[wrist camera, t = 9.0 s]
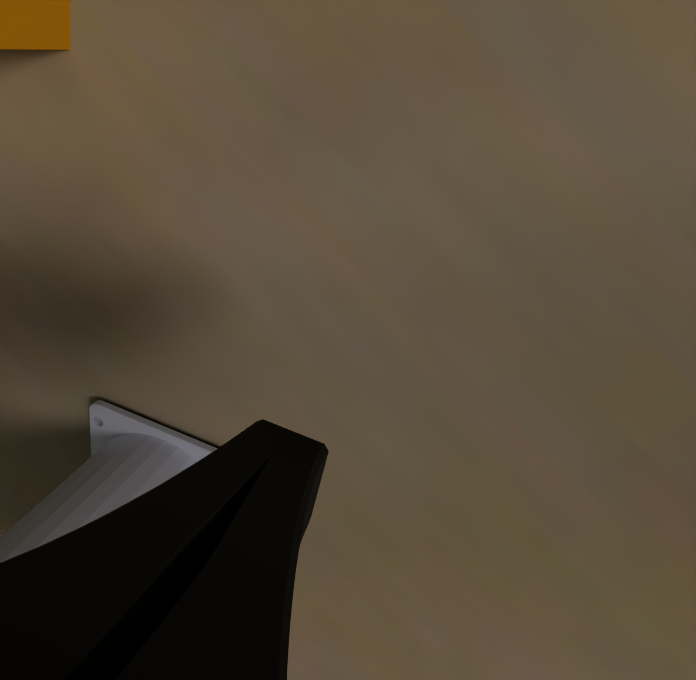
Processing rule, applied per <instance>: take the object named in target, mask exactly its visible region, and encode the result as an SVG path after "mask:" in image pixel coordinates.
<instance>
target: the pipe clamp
mask: <svg viewBox="0 0 696 680" xmlns="http://www.w3.org/2000/svg"><path fill="white" fill-rule="evenodd" d="M0 49H34V50H70V0H0Z"/></svg>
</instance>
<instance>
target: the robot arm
mask: <svg viewBox="0 0 696 680" xmlns="http://www.w3.org/2000/svg"><path fill="white" fill-rule="evenodd" d="M89 415H90V439H91V457H90V458H89V459H88V460H87V461H86V462H85V463H83V464H82V465H81V466H80V467H79V468H78V469H77V470H76V471H74V472H73V473H72V474H71V475H70V476H69V477H68V478H67V479H65V480H64V481H63V482H62V483H61V484H60V485H59V486H58V487H56V488H55V489H54V490H53V491H52V492H51V493H50V494H48V495H47V496H46V497H45V498H44V499H43V500H42V501H41V502H39V503H38V504H37V505H36V506H35V507H34V508H33V509H32V510H30V511H29V512H28V513H27V514H26V515H25V516H24V517H23V518H21V519H20V520H19V521H18V522H17V523H16V524H15V525H14V526H12V527H11V528H10V529H9V530H8V531H7V532H6V533H5V534H3V535H2V536H1V537H0V680H287V663H288V647H289V632H290V619H291V609H292V599H293V590H294V581H295V573H296V566H297V559H298V552H299V546H300V543H301V540H302V538H303V535H304V533H305V530H306V528H307V526H308V523H309V521H310V518H311V515H312V511H313V507H314V504H315V500H316V496H317V493H318V489H319V485H320V481H321V478H322V474H323V470H324V467H325V463H326V459H327V455H328V452H329V451H328V449H327V448H326V446H325V444H323V443H321V442H318V441H316V440H313V439H311V438H308V437H306V436H303V435H301V434H298V433H296V432H293V431H291V430H288V429H286V428H283V427H281V426H278V425H276V424H273V423H271V422H268V421H266V420H263V419H262V420H260V421H257V422H255V423H254V424H252V425H251V426H250V427H248V428H247V429H245V430H244V431H243V432H241V433H240V434H238V435H237V436H235V437H234V438H232V439H231V440H230V441H228V442H227V443H225V444H224V445H222V446H221V447H219V448H215V447H213V446H210V445H208V444H206V443H203V442H201V441H198V440H196V439H194V438H191V437H189V436H186V435H184V434H182V433H179V432H177V431H174V430H172V429H169V428H167V427H165V426H162V425H160V424H157V423H155V422H153V421H150V420H148V419H145V418H143V417H141V416H138V415H136V414H133V413H131V412H129V411H126V410H124V409H121V408H119V407H117V406H114V405H112V404H109V403H107V402H104V401H101V400H97V401H95V402H94V403H93V404H91V405H90V408H89Z"/></svg>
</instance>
